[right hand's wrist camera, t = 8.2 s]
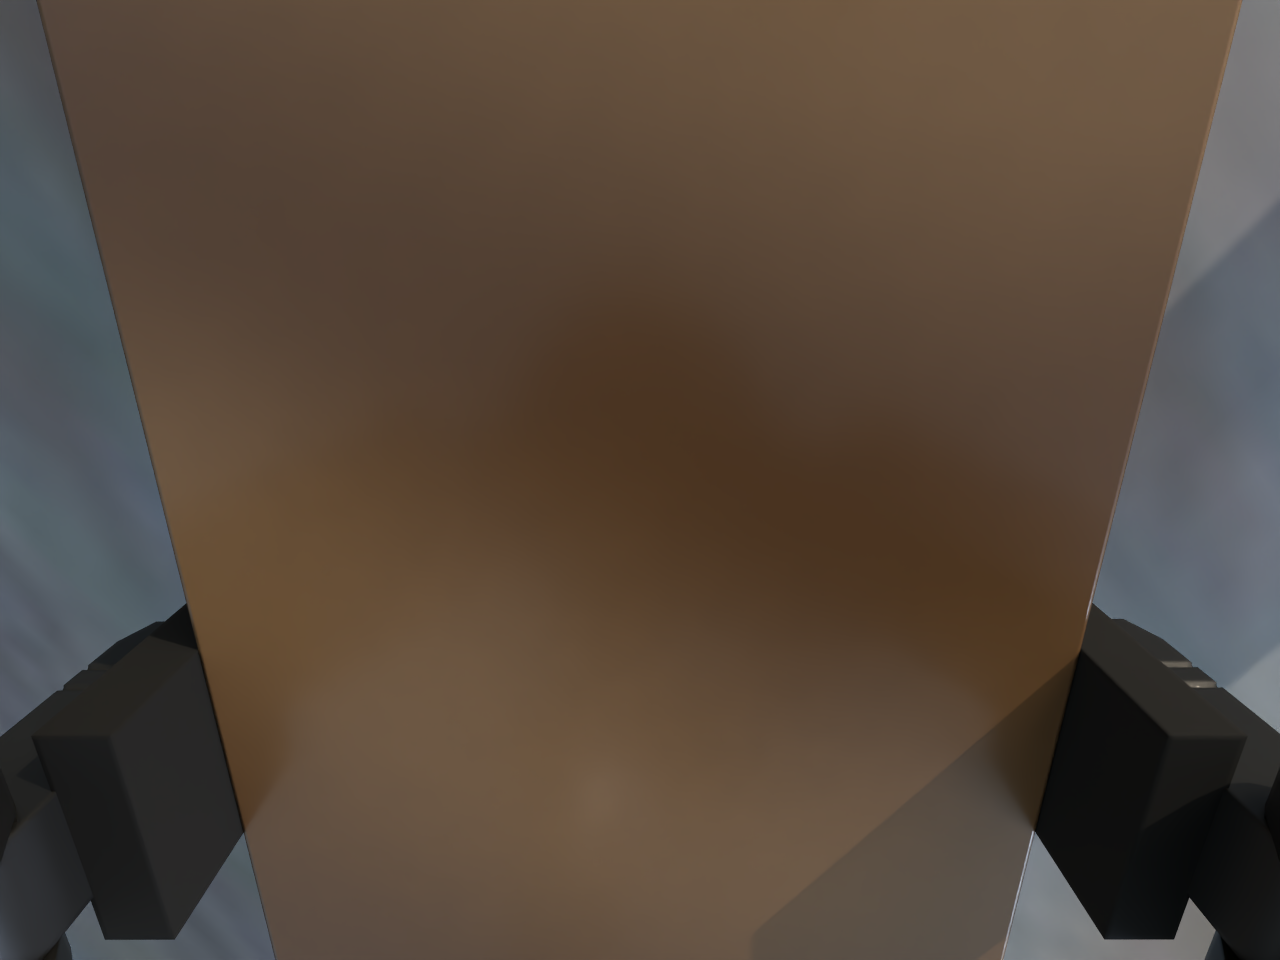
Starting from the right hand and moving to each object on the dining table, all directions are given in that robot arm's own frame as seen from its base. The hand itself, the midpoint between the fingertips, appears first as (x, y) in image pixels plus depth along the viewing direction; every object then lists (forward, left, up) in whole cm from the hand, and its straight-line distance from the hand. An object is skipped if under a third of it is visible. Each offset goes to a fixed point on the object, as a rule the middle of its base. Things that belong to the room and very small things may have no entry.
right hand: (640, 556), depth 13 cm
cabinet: (+4, +4, -4) cm, 6 cm away
